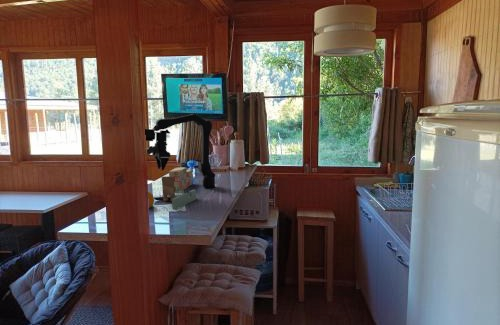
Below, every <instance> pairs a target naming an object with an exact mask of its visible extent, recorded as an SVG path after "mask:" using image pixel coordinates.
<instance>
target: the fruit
mask: <svg viewBox="0 0 500 325" xmlns="http://www.w3.org/2000/svg"><path fill="white" fill-rule="evenodd" d="M147 191H148V199H149V208H148V209H150V208H151V207H153V205H154V204H155V197H154V195H153V193H152V192H150V191H149V190H147Z"/></svg>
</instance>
